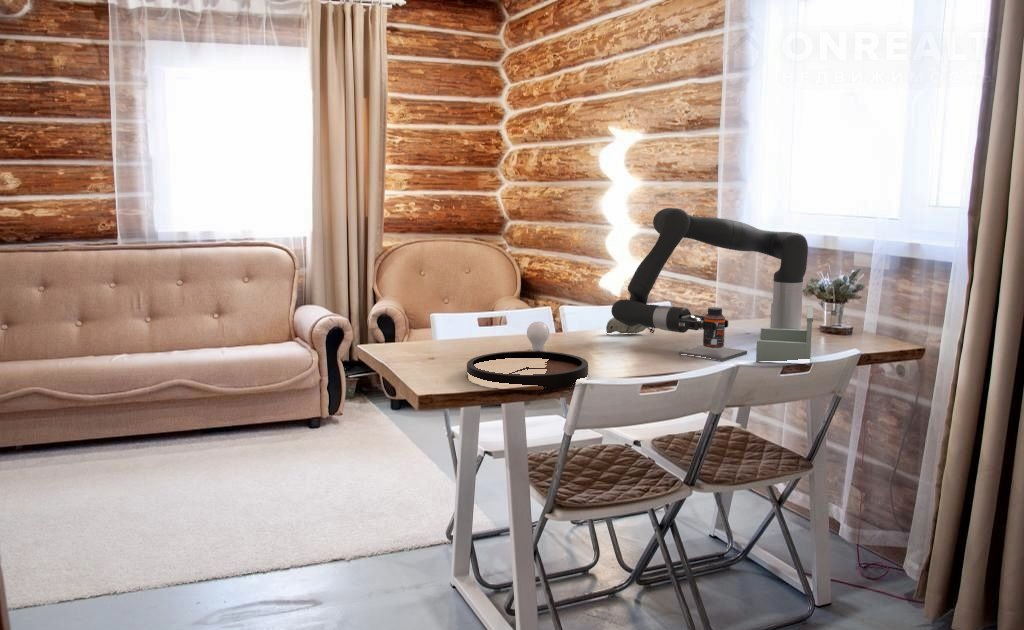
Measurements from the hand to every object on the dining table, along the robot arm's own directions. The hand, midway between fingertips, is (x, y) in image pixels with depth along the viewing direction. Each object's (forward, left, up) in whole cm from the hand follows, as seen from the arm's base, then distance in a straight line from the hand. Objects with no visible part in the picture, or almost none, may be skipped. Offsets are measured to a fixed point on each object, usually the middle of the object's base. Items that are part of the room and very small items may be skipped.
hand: (721, 325), depth 246 cm
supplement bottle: (-2, -1, -7) cm, 7 cm away
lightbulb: (-10, -52, -9) cm, 54 cm away
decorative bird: (-40, -11, -9) cm, 42 cm away
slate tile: (-2, -1, -9) cm, 9 cm away
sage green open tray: (+6, +17, -9) cm, 20 cm away
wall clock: (+9, -61, -9) cm, 63 cm away
